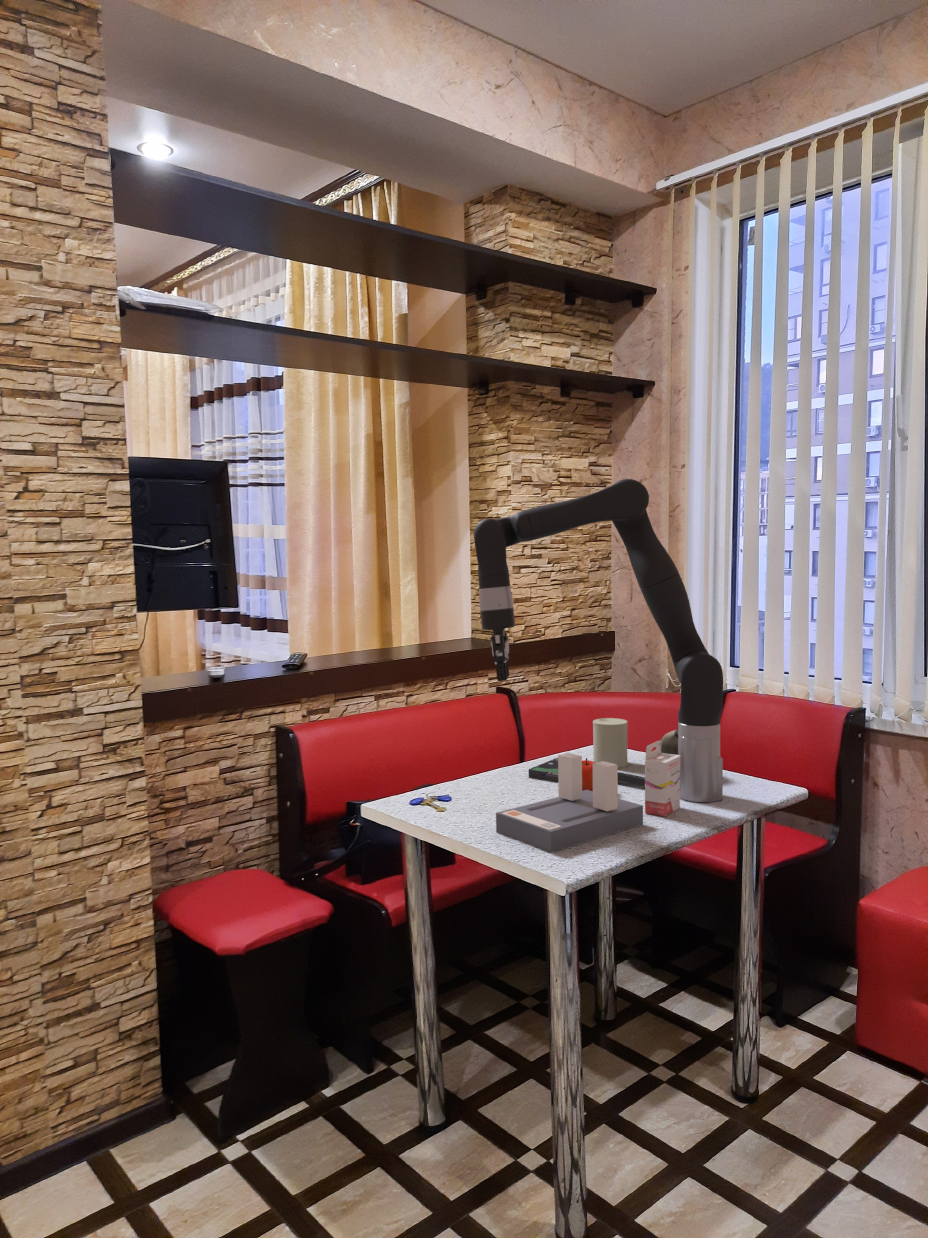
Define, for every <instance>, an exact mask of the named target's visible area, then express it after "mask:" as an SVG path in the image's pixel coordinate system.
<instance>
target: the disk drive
mask: <svg viewBox="0 0 928 1238" xmlns="http://www.w3.org/2000/svg"><path fill="white" fill-rule="evenodd" d="M528 779H536V780H541V781H545V782H547V781H548V782H553V783H558V757H557V758H553V759H551V760H548V761H545V762H543V763H541V764H538V765H536V766H533V767H532V768H531V767H530V768H529V769H528Z"/></svg>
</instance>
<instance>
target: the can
mask: <svg viewBox="0 0 928 1238" xmlns="http://www.w3.org/2000/svg"><path fill="white" fill-rule="evenodd" d="M592 728H593V729H592V731H593V732H592V736H593V737H592V738H593V739H592V740H593V742H592V743H593V753H592V754H593V758H592V759H593V760H592V761H593V762H596V763H597V762H601V761H604V762H608V763H613V764H617V767H618V769H621V768H625V767H628V765H629V762H628V720H626V719H623V718H616V717H615V718H614V717H602V718H596V719H593V720H592Z"/></svg>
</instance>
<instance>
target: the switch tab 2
mask: <svg viewBox="0 0 928 1238" xmlns="http://www.w3.org/2000/svg"><path fill="white" fill-rule="evenodd" d="M618 769H619V768H618V767H617V764H613V763H608V762H604V761H601V762H597V763H593V807H594V808H598V809H601V810H604V811H611V810H614V809H618V799H619V797H618V795H619V793H618V790H619V788H618V787H619V785H618V772H619V770H618Z"/></svg>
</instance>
